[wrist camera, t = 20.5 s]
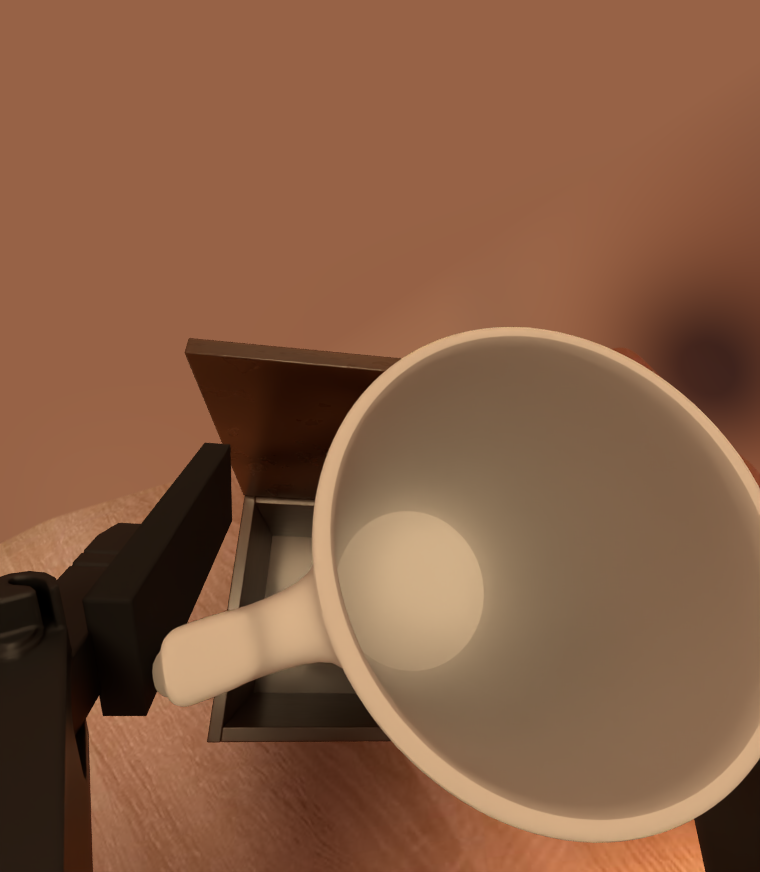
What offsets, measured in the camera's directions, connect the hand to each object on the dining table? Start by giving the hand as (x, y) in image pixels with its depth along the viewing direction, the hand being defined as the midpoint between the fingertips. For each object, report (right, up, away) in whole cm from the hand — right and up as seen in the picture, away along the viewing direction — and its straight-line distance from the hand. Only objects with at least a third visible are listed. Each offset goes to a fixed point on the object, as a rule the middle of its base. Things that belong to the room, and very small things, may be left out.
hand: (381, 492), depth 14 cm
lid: (-1, +1, +11) cm, 11 cm away
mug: (-1, -5, +3) cm, 5 cm away
